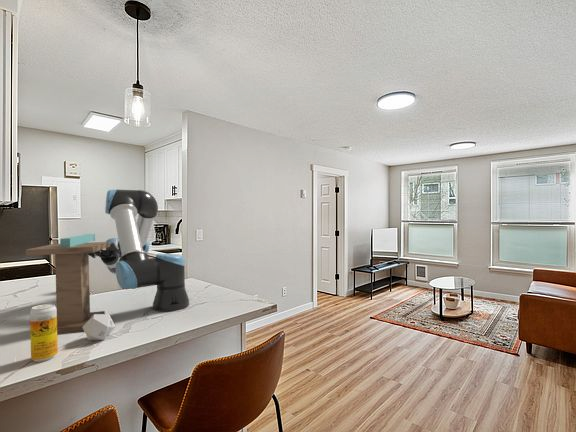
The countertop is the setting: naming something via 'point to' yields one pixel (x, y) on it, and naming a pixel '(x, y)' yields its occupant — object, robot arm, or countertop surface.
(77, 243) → the teal bar
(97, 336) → the die
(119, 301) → the countertop surface
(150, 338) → the countertop surface
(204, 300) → the countertop surface
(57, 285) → the walnut pedestal
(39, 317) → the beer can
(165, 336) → the countertop surface
